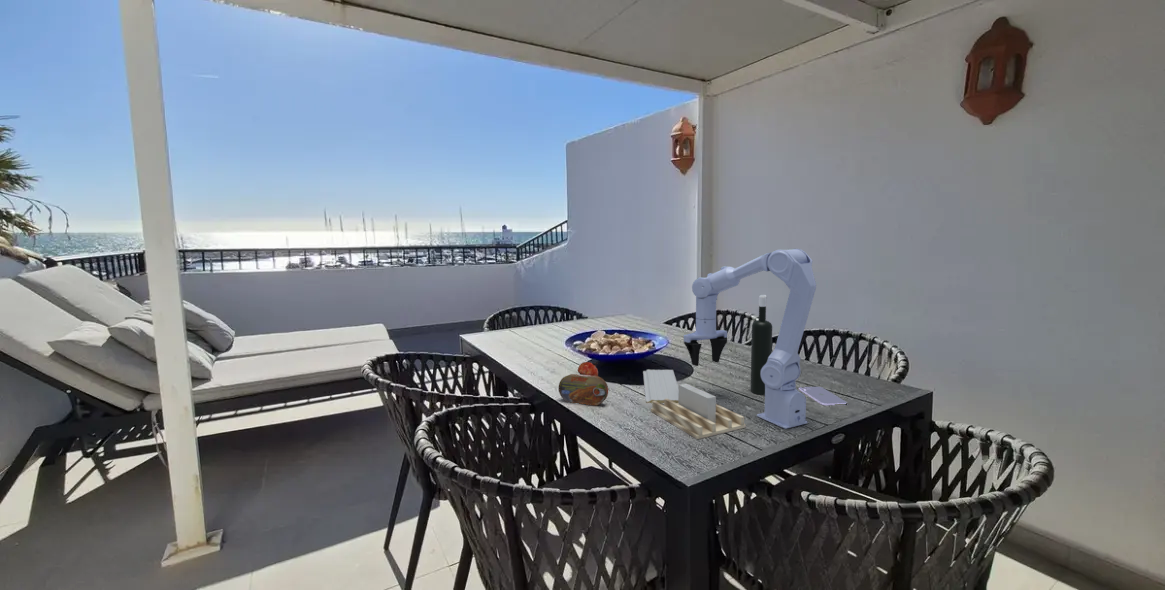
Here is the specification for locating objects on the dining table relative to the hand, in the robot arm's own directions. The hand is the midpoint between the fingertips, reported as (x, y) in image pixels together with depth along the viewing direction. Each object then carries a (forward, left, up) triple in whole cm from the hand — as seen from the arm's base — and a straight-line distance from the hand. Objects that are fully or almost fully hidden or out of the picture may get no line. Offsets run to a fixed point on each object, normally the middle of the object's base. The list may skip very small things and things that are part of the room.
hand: (705, 363), depth 134 cm
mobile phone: (-15, -31, -11) cm, 36 cm away
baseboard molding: (+16, +6, -11) cm, 20 cm away
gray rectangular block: (-12, +13, -10) cm, 20 cm away
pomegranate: (+30, +25, -11) cm, 40 cm away
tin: (+13, +34, -11) cm, 38 cm away
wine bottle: (-4, -18, -11) cm, 21 cm away
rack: (-12, +13, -10) cm, 21 cm away
